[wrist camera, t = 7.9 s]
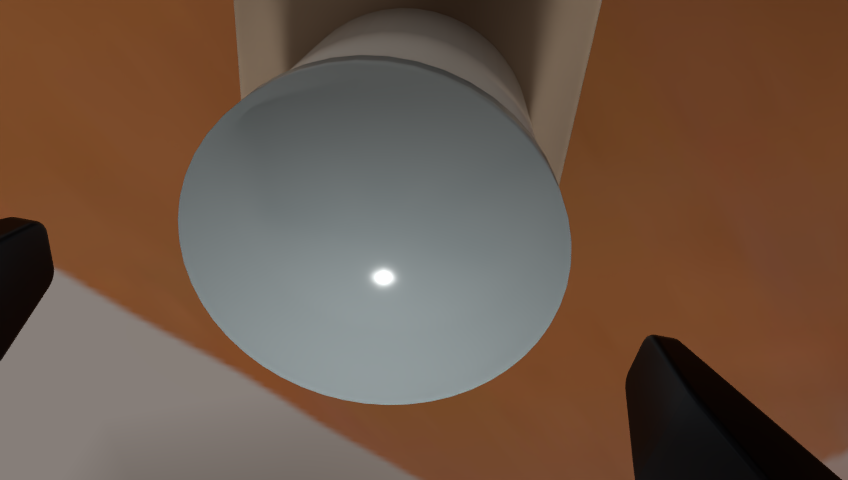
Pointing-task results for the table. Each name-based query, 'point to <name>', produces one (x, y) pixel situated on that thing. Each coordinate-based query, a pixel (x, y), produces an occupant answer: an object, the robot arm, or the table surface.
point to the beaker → (380, 215)
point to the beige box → (468, 3)
